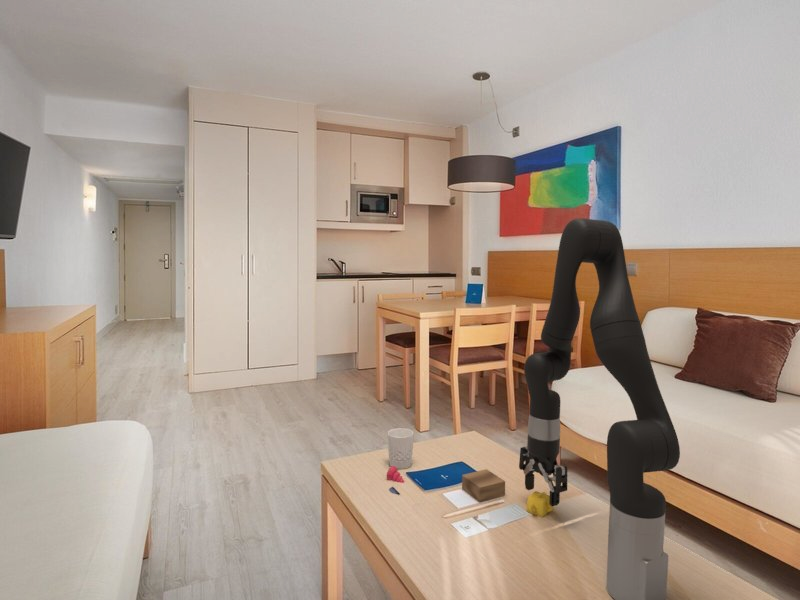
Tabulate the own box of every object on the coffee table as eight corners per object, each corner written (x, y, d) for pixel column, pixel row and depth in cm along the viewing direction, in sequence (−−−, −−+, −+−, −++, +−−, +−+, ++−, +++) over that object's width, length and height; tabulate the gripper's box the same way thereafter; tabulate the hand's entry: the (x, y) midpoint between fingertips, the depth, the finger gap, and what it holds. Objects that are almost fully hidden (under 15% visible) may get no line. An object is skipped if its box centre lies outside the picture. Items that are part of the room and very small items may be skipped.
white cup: (407, 457, 152) (407, 426, 151) (417, 467, 145) (417, 435, 144) (384, 461, 149) (384, 429, 148) (392, 471, 142) (392, 438, 141)
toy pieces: (376, 492, 130) (376, 476, 130) (393, 475, 141) (393, 460, 140) (418, 500, 126) (418, 484, 125) (432, 482, 136) (432, 467, 136)
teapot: (545, 526, 114) (545, 505, 113) (522, 517, 117) (522, 497, 117) (558, 512, 120) (559, 492, 119) (536, 505, 123) (537, 485, 123)
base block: (504, 496, 126) (505, 481, 126) (479, 502, 122) (479, 487, 122) (486, 483, 133) (486, 469, 133) (462, 489, 130) (462, 474, 129)
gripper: (577, 441, 112) (574, 507, 114) (535, 421, 125) (533, 481, 127) (553, 446, 109) (550, 514, 111) (512, 425, 122) (510, 487, 123)
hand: (541, 496), depth 119 cm, fingers open, 8 cm apart
